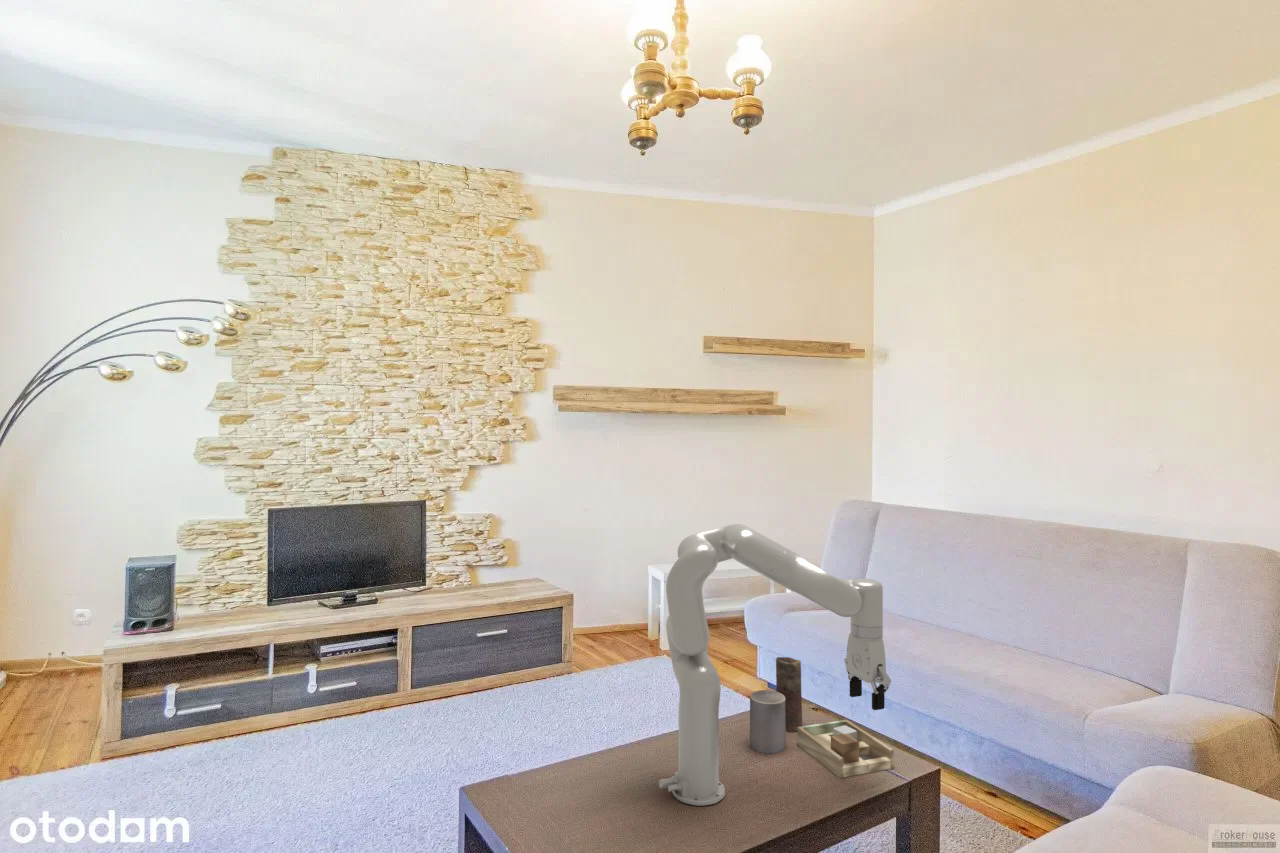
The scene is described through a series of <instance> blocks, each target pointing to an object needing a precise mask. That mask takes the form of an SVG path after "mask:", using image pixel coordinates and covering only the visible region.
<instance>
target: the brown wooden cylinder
mask: <svg viewBox="0 0 1280 853" xmlns="http://www.w3.org/2000/svg"><path fill="white" fill-rule="evenodd" d="M775 671H776V672H775V677H776V678H775V680H776V682H775V683H776V686H775V687H776V692H779V693H781V694H783V695H784V696H785V712H786V713H785V723H786V733H795V732H797V727H801V726H803V706H802V704H803V703H802V699H803V698H802V661H801V660H800V659H795V658H793V657H790V656H787V657H786V656H785V657H784V656H782V657H780V656H778V657H776V658H775Z"/></svg>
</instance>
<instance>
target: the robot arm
mask: <svg viewBox="0 0 1280 853" xmlns="http://www.w3.org/2000/svg"><path fill="white" fill-rule="evenodd" d="M677 557H678V559H676V561H675V562H674V564H673V565H672V567H671V569H670V571H669V573H668V575H667V578H666V586H665V591H666V599H667V600H666V601H667V607H668V617H667V619H666V624H665V629H666V635H667V642H668V643H667V644H668V647H669V648H668V649H669V654H670V655H669V656H670V660H671V665H672V669H673V674H674V676H675V678H676V682H677V684H678V686H679V702H678V716H677V717H678V720H677V721H678V724H677V726H678V770H675V771H674V775H673V776H671V777H669V778H661V779H659V780H658V786H659V789H667V791H668V792H671V793H672V795H673V797H674V799H676V800H678V801H679V802H682V803H684V804H687V805H690V806H699V807H700V806H710V805H714V804H717V803H718V802H720V801H722V800H723V799H724V797H725V795H726V786H724V784H723V783H722V782H721V781H720V780H719V779H720V778H719V768H720V767H719V757H720V756H719V751H720V750H719V746H720V745H719V740H720V739H719V733H720V732H719V731H720V729H719V713H720V712H719V711H720V708H719V707H720V699H721V688H722V687H721V679H720V674H719V673H718V672H719V671H718V670H717V668H716V667H715V665H714V663H713V662H712V660H711V659H710V655H709V650H708V645H709V643H710V635H711V634H710V628H709V625H708V620H707V615H706V612H705V604H704V599H703V586H704V583H705V581H706V580H707V579H708V577H709V576H711V575H712V574H713V573H714V571H715V570H716V568H717V567H718V565H719V563H722V562H725V561H728V560H731V559H733V560H735V561H736V562H738V563H740V564H742V565H743V566H745V567H747V568H748V569H751V570H753V571H755V572H757V573H758V574H760V575H762V576H764V577H766V578H768V579H769V580H771V581H773V582H775V583H777V584H779V585H780V586H782V587H784V588H785V589H787V590H788V591H789V590H790V591H792V592H794V593H796V594H798V595H800V596H802V597H803V598H804V597H805V598H806V599H807V600H810V601H812V602H813V603H815V604H817V605H819V606H821V607H823V608H824V609H827V610H828V611H830V612H832V613H834V614H835V615H838V616H839V617H842V618H850V632H849V634H848V639H847V645H846V657H845V658H844V664H845V667H846V672H847V674H848V675H847V677H848V678H847V679H848V680H849V697H851V698H856V697H861V696H863V691H862V690H863V688H862V687H863V686H862V685H863V681H864V682H865V683H867V684H870V685H871V687H872V691H873V692H871V709H872V710H873V711H879V710H884V709H885V693H887V691H888V689H889V687H890V685H891V683H892V679H891V678H890V676H889V675H888V672H887V661H886V650H885V643H884V622H883V621H884V619H883V618H884V608H883V607H884V606H883V604H884V602H883V601H884V599H883V598H884V593H883V592H884V589H883V588H884V587H883V584H882V583H881V582H880V581H878V580H876V579H872V578H856V579H849V578H848V579H847V578H839V577H835V576H833V575H832V574H830V573H829V572H826V571H824V570H823V569H821V568H820V567H818V566H816V565H815V564H813V563H811V562H810V561H809V560H808V559H806V558H804V557H803V556H801V555H800V554H798V553H797V552H795V551H793V550H792V549H789V548H787V547H786V546H783V545H782V544H780V543H777V542H776V541H775V540H773V539H771V538H769V537H767V536H765V535H763V534H762V533H760V532H759V531H756V530H754V529H752V528H750V527H748V526H747V525H745V524H741V523H733V524H729V525H725V526H721V527H717V528H714V529H709V530H706V531H702V532H699V533H694V534H691V535H689V536H687V537H684V538H683V539H682V540H681V542H680V543H679V545H678V547H677ZM877 683H878V684H879V685H878V686H877Z"/></svg>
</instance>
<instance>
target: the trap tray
mask: <svg viewBox="0 0 1280 853" xmlns="http://www.w3.org/2000/svg"><path fill="white" fill-rule="evenodd" d="M844 725H846V726H848V727H850V728H852V729H854V730H856V731H857V740H858V741H859V761H858V762H852V763H846V764H844V758H843V757H841V756H840V755H838V754H837V753H836V752H834V751H833V750H832V749H831V736H833V728H836V727H840V726H844ZM796 735H797V736H796V743H797V746H799V747H800V748H801V749H802V750H803V751H804V752H806V753H808V754H809V755H810V756H811V757H813V758H814V759H815V760H816V761H817V762H819V763H820V764H822V765H823V766H824V767H825V768H826V769H828V770H829V771H830V772H832V773H833V774H834V775H836V776H837V777H838V778H839V779H841V778H842V779H843V778H849V777H853V776H859V775H864V774H871V773H875V772H880V771H887V770H892V769H895V766H894V764H895V760H894V759H895V758H894V757H895V753H894V752H895V751H894V750H895V749H894V748H892V747H890V746H889V745H887V744H886V743H884V742H882V741H881V740H880V739H878V738H876V737H875V736H873V735H872V734H870V733H869V732H867V731H865V730H864V729H863V728H861V727H860V726H858V725H856V724H855V723H854V722H852V721H850V720H848V719H842V720H836V721H829V722H828V721H827V722H822V723H815V724H810V725H802V726H801V727H797V730H796Z"/></svg>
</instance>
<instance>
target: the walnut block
mask: <svg viewBox="0 0 1280 853" xmlns="http://www.w3.org/2000/svg"><path fill="white" fill-rule="evenodd" d="M831 749H832V750H833V751H834V752H836V753H837V754H838V755H840V756H841V757H843V758H844V764H846V763H852V762H858V761H859V741H858V740H856V739H855V738H853V737H852V736H850V735H849V734H841V735H835V736H831Z"/></svg>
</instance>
